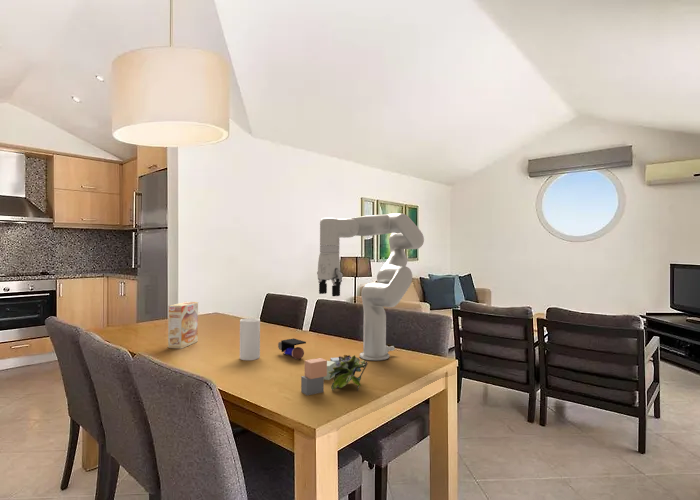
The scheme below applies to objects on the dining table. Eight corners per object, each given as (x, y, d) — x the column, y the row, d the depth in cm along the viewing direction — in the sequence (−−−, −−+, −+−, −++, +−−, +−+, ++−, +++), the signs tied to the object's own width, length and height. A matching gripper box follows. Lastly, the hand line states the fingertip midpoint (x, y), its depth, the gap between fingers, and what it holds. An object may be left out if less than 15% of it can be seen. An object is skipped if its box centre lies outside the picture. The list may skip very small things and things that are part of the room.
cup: (263, 356, 180) (264, 318, 180) (251, 361, 173) (251, 321, 173) (248, 354, 184) (248, 317, 184) (235, 358, 176) (235, 320, 176)
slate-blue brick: (345, 370, 162) (345, 356, 162) (348, 373, 158) (348, 359, 158) (330, 371, 160) (330, 357, 160) (332, 374, 157) (332, 360, 157)
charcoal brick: (317, 388, 140) (317, 373, 140) (323, 392, 137) (323, 376, 137) (301, 391, 137) (301, 376, 137) (306, 395, 134) (307, 379, 134)
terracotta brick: (320, 372, 141) (320, 357, 141) (326, 376, 138) (326, 360, 138) (304, 375, 138) (304, 360, 138) (310, 379, 134) (310, 363, 134)
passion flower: (343, 401, 146) (356, 364, 152) (367, 404, 137) (380, 365, 143) (317, 385, 140) (331, 348, 147) (340, 388, 131) (355, 347, 138)
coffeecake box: (181, 348, 193) (181, 305, 193) (167, 348, 194) (167, 305, 194) (198, 341, 208) (198, 301, 208) (185, 341, 209) (185, 301, 209)
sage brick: (325, 374, 156) (325, 360, 156) (335, 375, 155) (335, 361, 155) (318, 378, 151) (318, 364, 151) (328, 380, 149) (329, 366, 149)
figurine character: (277, 357, 185) (293, 361, 173) (276, 339, 186) (292, 341, 174) (291, 355, 189) (308, 358, 177) (290, 337, 190) (307, 339, 178)
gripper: (310, 250, 169) (309, 293, 169) (333, 250, 154) (332, 297, 154) (326, 250, 173) (326, 292, 173) (350, 250, 158) (349, 296, 158)
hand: (329, 294), depth 164 cm, fingers open, 9 cm apart
